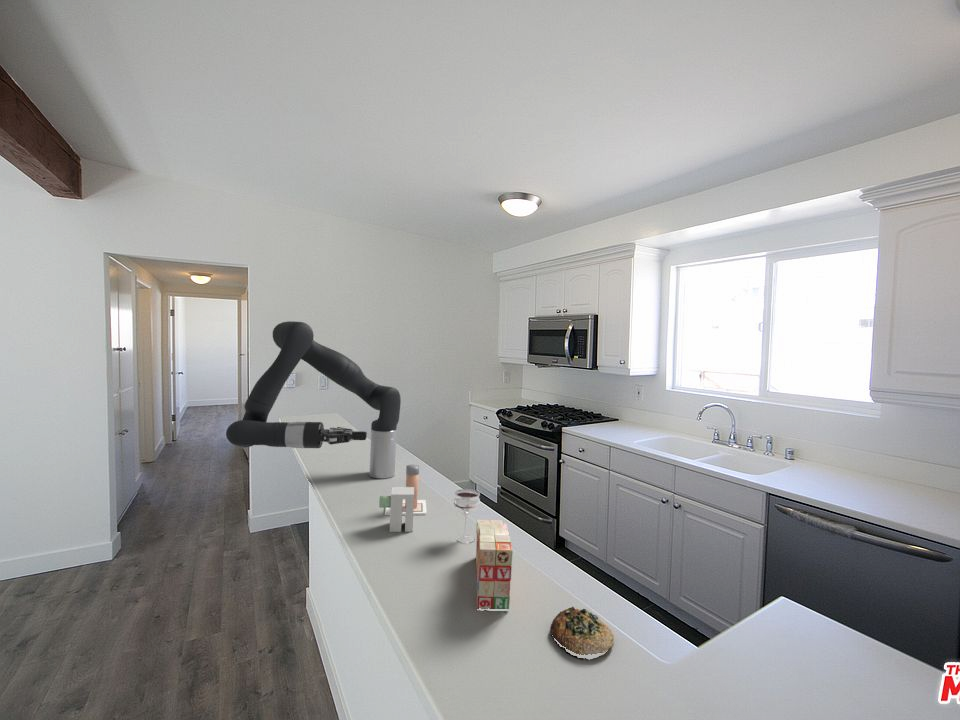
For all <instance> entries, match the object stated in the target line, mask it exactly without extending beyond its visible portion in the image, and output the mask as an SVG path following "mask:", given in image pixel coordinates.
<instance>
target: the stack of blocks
mask: <svg viewBox="0 0 960 720" xmlns="http://www.w3.org/2000/svg"><path fill="white" fill-rule="evenodd" d="M475 543H476V546H475V547H476V549H475V550H476V551H475V555H476V556H475V569H476V570H475V572H476V575H475V576H477V577H476V610H477V609H479V608H481V609H488V608H489V609H509V610H510V603H511V602H510V601H511V596H510V593H511V592H510V591H511V581H512V564H513V563H512V562H513V552H514V551H513V547H512V541H511V537H510V533H509V529H508V525H507V523H503V520H502V519H501V520H500V519H477V520H476V542H475Z"/></svg>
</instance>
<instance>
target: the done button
mask: <svg viewBox="0 0 960 720" xmlns="http://www.w3.org/2000/svg"><path fill="white" fill-rule="evenodd" d="M378 507H379V508H381V509H383V508H385V509H386V508H391V495H380V496H379V506H378Z"/></svg>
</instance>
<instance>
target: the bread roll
mask: <svg viewBox="0 0 960 720" xmlns="http://www.w3.org/2000/svg"><path fill="white" fill-rule="evenodd" d="M549 630H550V634H551V633H552V635H553V637H554V638H555V639H556V640H557V641H558V642H559V643H560V644H561V645H562V646H564V647H566V649H568V650H570V651H572V652H574V653H576V654H579V655H580V654H581V655H584V654H585V655H588V654H591V655H592V654H597V653H604V652H606V651H608V649H609V648H610V647H611V648H612V647H613V643H614V640H615V639H614V638H615V635H614V634H613V632H612V630H611V628H610V627H609V626H608V625H606V624H605V623H604V622H603V621H602V620H601V619H600V618H599V616H597V614H593V612H590V611H589V610H588V609H585V608H582V609H578V608H575V607H574V606H571V607H569V608H567V609H564V610H561V611H560V612H559V613H557V615H556V616H555V617H554V618H553V620H552V621H551V624H550V628H549ZM552 635H551V636H552ZM553 637H552V638H553ZM611 648H610V649H611ZM610 649H609V650H610ZM608 652H609V651H608Z"/></svg>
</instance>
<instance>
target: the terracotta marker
mask: <svg viewBox="0 0 960 720" xmlns="http://www.w3.org/2000/svg"><path fill="white" fill-rule="evenodd" d="M405 473H406V476H405V487H414V509H416V508H417V500H418V496H419V495H418V494H419V493H418V492H419V476H420V475H419V474H420V466H419V465H417V464H408V465H406V468H405ZM404 500H405V508H406V499H404Z"/></svg>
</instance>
